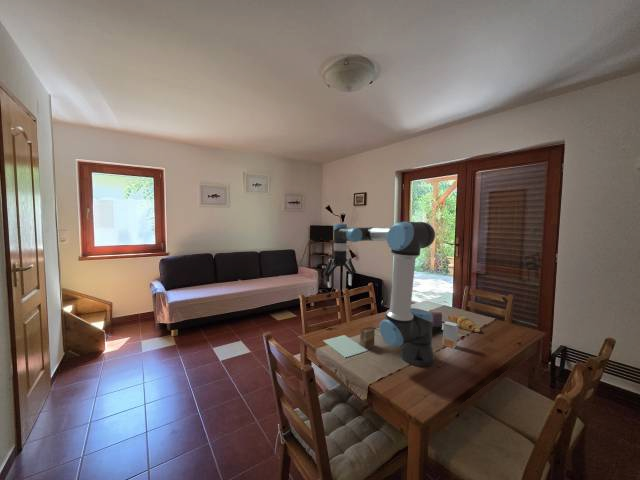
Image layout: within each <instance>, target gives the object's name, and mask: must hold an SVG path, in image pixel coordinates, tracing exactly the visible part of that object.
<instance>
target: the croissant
mask: <svg viewBox="0 0 640 480" xmlns="http://www.w3.org/2000/svg"><path fill="white" fill-rule="evenodd" d="M447 319H448V320H449V322H452V323H455V324H458V329H461V330H467V331H469V332H470V331H471V332H472V331H473V332H475V333H479V332H481V329H480V327H479V326H478V325H476V323H475V322H474V321H473V320H470V318H468V317H467V316H465V315H462V314H461V315H459V316H458V315H456V316H453V315H451V316H449V315H448V318H447Z"/></svg>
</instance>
